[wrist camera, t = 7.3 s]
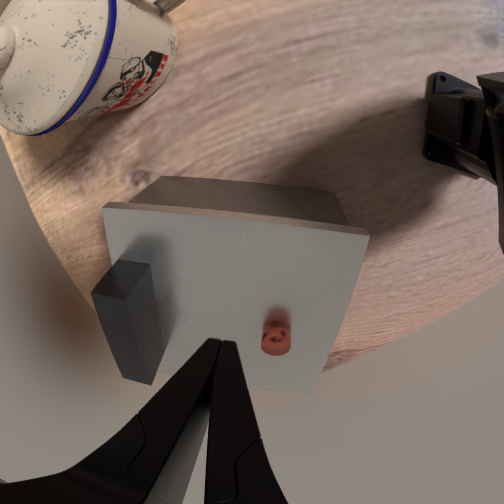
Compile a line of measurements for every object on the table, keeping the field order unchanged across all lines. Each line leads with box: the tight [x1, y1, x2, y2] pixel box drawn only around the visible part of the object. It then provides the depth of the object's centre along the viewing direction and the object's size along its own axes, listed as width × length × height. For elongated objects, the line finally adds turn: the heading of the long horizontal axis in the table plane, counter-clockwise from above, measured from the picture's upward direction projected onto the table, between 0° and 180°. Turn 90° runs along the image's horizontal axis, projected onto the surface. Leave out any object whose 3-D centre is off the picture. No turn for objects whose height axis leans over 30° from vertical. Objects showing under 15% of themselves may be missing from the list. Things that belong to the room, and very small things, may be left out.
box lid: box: [91, 202, 370, 394], centre depth 15 cm, size 13×13×4 cm
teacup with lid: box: [0, 0, 186, 136], centre depth 9 cm, size 12×9×12 cm
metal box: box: [128, 176, 349, 226], centre depth 20 cm, size 12×12×6 cm
